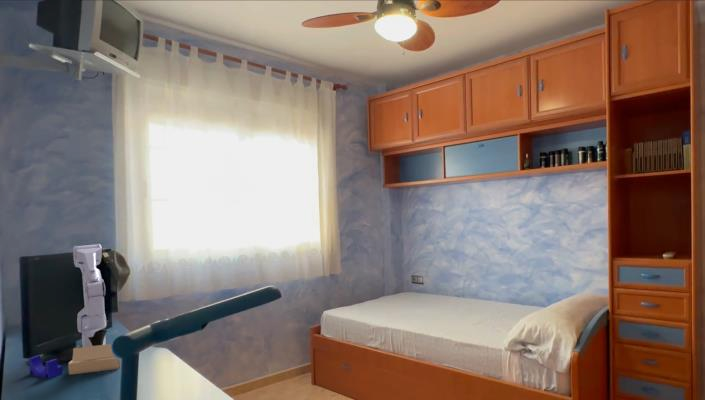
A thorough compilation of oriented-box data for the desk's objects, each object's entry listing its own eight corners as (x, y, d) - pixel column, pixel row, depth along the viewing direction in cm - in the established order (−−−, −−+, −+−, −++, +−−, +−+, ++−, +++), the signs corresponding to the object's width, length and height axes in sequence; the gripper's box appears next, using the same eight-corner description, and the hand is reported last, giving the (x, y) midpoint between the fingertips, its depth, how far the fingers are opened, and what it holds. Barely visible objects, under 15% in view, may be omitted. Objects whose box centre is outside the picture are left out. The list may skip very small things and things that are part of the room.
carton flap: (74, 348, 155) (73, 348, 155) (115, 343, 158) (115, 343, 158) (72, 361, 154) (72, 361, 153) (114, 356, 157) (114, 356, 156)
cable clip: (62, 374, 154) (61, 357, 154) (49, 379, 150) (48, 362, 150) (43, 370, 160) (42, 353, 160) (29, 374, 156) (28, 358, 156)
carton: (84, 360, 167) (83, 350, 167) (130, 354, 171) (130, 344, 171) (68, 374, 153) (67, 363, 153) (119, 368, 157) (119, 357, 157)
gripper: (91, 310, 165) (93, 345, 165) (75, 320, 151) (78, 359, 151) (111, 308, 167) (113, 343, 167) (98, 318, 153) (100, 356, 153)
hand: (98, 350), depth 159 cm, fingers closed
